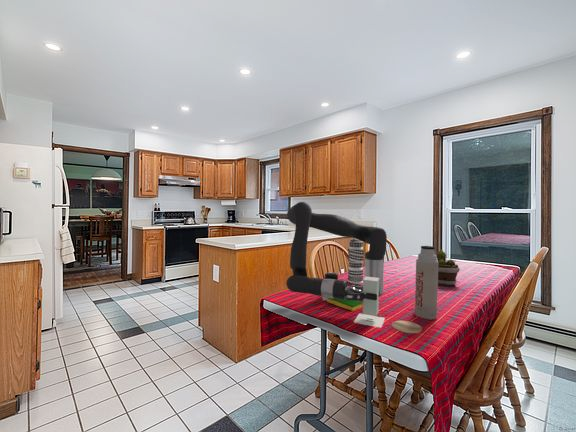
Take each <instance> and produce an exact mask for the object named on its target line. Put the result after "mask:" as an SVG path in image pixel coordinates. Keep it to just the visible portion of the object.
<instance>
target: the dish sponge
mask: <svg viewBox="0 0 576 432" xmlns="http://www.w3.org/2000/svg"><path fill="white" fill-rule="evenodd" d="M326 302H327V303H330V304H332V305H335V306H337V307H339V308H343V309H345V310H349V311H353V312H354V311H356V310H359V309H361V308H363V301H357V300H347V298H346V299H345V300H339V299H333V298H327V301H326Z"/></svg>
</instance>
